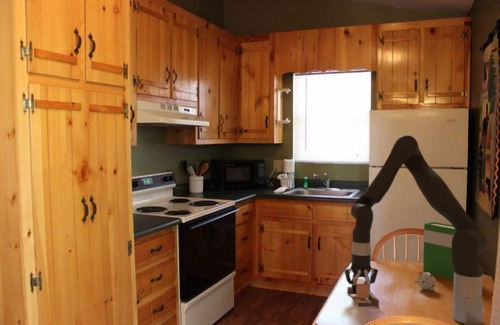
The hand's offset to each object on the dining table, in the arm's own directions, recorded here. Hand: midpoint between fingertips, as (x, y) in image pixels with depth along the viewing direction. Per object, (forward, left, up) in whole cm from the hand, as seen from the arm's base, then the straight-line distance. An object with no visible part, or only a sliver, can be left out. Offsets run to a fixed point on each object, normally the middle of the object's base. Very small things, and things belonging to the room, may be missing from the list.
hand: (360, 293), depth 175 cm
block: (0, 0, 0) cm, 0 cm away
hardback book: (+26, -50, -3) cm, 56 cm away
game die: (+8, -32, -3) cm, 33 cm away
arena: (+1, -1, -3) cm, 3 cm away
